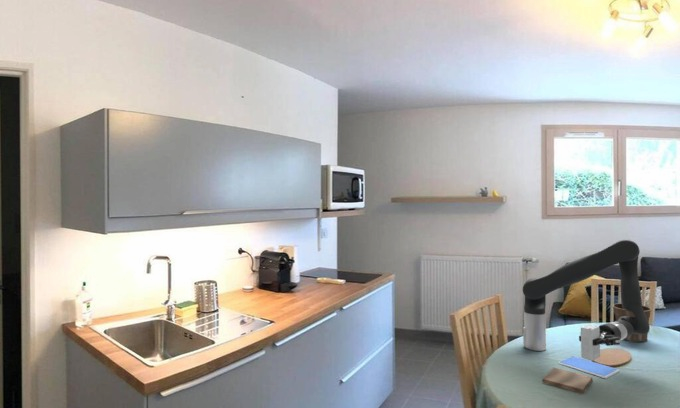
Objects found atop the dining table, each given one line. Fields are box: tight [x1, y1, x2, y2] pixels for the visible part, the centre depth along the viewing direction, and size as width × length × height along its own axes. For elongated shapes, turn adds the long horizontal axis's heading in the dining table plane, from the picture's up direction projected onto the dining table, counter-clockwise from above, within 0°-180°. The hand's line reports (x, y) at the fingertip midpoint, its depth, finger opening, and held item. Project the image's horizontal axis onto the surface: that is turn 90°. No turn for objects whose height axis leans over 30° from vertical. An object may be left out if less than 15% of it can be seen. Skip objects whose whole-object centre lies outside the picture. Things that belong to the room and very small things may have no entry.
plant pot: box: [612, 302, 653, 343], centre depth 206 cm, size 16×16×16 cm
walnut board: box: [542, 367, 593, 394], centre depth 160 cm, size 14×14×2 cm
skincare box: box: [580, 324, 601, 362], centre depth 157 cm, size 6×4×12 cm
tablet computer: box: [557, 355, 620, 379], centre depth 173 cm, size 19×13×1 cm, turn 33°
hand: (586, 340), depth 156 cm, fingers closed on skincare box, 4 cm apart
